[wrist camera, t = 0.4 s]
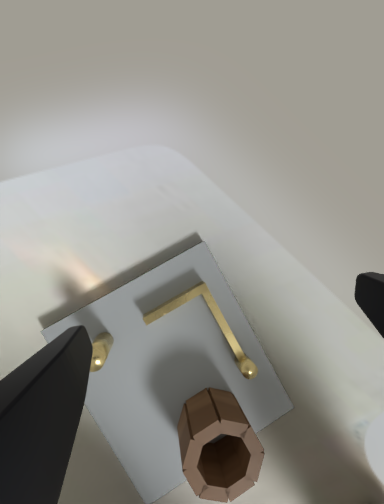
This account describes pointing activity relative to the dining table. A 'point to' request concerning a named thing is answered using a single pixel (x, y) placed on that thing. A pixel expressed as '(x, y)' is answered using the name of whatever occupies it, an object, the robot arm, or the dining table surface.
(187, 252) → the slate board
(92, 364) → the end peg
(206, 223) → the dining table surface
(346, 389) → the dining table surface
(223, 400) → the walnut ring
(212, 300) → the bent rail
